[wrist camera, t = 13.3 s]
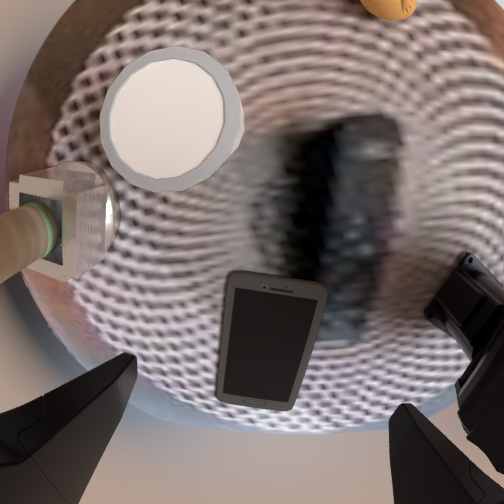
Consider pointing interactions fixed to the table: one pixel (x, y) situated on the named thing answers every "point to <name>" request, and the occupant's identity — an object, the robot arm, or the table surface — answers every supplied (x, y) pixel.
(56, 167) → the stand
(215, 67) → the white short cylinder
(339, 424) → the table surface
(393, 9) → the figurine
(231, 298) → the cell phone
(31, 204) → the post
